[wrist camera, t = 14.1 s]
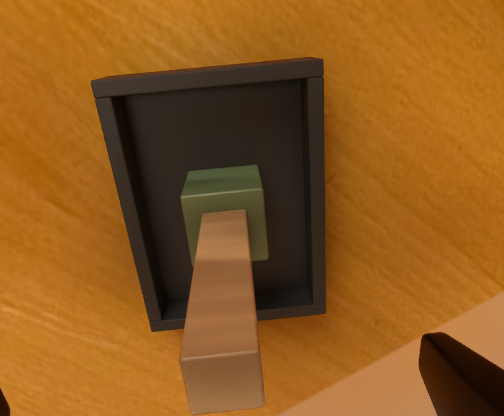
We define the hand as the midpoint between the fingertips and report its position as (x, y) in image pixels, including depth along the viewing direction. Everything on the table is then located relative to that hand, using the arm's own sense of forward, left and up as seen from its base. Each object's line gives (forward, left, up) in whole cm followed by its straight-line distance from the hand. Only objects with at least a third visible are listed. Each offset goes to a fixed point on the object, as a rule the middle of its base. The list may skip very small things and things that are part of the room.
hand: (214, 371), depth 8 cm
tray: (0, 0, -10) cm, 10 cm away
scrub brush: (0, 0, -10) cm, 10 cm away
